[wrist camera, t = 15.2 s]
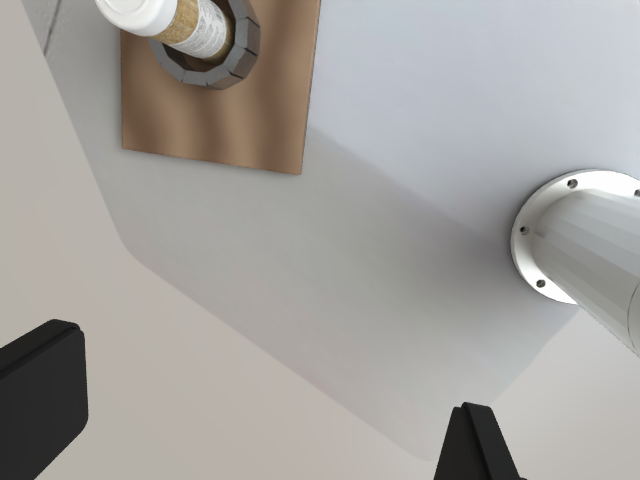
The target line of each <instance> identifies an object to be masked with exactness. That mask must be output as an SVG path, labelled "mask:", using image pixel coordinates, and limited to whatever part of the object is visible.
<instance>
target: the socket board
mask: <svg viewBox="0 0 640 480" xmlns="http://www.w3.org/2000/svg"><path fill="white" fill-rule="evenodd" d="M211 1H212V2H213V3H214V4H215V5H217V6H218V8H219V9H221V10H223V11H225V12H227V13H228V14H229V15H230V16H231V17H232V18H233V19H234V20H235V23H236V18H235V16H234V13H233V11H232V8H231V6H230V4H229V1H228V0H211ZM249 1H250V2H251V4H252V7H253V9H254V12H255V14H256V17H257V19H258V21H259V24H260V26H261V28H260V29H261V41H260V54H259V56H256V57H258V60H257V62H256V63H255V65H254V66H253V68H252V69H251V71H250V73H249V74H248V76H247V77H246V78H244V80H243V81H241V82H239V83H237V84H235V85H233V86H231V87H229V88H227V89H225V90H223V89H222V90H218V89H210V88H202V87H198V86H194V85H190V84H186V83H183V82H180V81H179V80H178V79H176V78H175V77H174V76H173V75H171V74H170V73H169V72H168V71H166V70H165V69H164V68H162V67H161V64H159V63H158V61H157V59H156V56H155V54H154V52H153V50H152V48H151V46H150V44H149V41H148V38H150V37H147V36H139V35H135V34H133V33H130V32H128V31H125V30H123V29H121V84H122V146H123V149H128V150H134V151H141V152H148V153H154V154H161V155H168V156H174V157H181V158H188V159H194V160H201V161H208V162H215V163H221V164H228V165H235V166H241V167H248V168H255V169H261V170H268V171H275V172H281V173H288V174H295V175H299V174H301V170H302V162H303V153H304V144H305V136H306V127H307V118H308V109H309V101H310V92H311V83H312V75H313V66H314V57H315V49H316V40H317V31H318V22H319V14H320V5H321V0H249ZM183 55H184V57H185V59H186V61H187V64H189V65H190V66H191V67H192V68H194V69H195V70H196V71H197V72H203V73H206V72H208V71H210V70H211V69H213V68H215V67H217V66H219V65H221V64H219V65H215V64H210V63H208V62H206V61H204V60H202V59H201V58H197V57H194V56H191V55H189V54H186V53H184V52H183Z"/></svg>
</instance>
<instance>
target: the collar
mask: <svg viewBox="0 0 640 480" xmlns="http://www.w3.org/2000/svg"><path fill="white" fill-rule="evenodd" d="M228 1H229V4H230V6H231V8H232V11H233V13H234V16H235V18H236V33H235V45H234V46H233V48H232V50H231V51H230V53H229V55H228V56H227V58H226V60H225V61H224V63H223V64H221V65H219V66H217V67H215V68H213V69H211V70H210V71H208V72H206V73H203V72H197V71H196V70H195V69H194V68H192V67H191V66H190V65H189V64H187V61H186V59H185V57H184V55H183V52H181V51H179V50H176V49H174V48H173V47H171V46H168V45H167V44H164V43H162V42H160V41H157V40H155V39H153V38H148V41H149V44H150V46H151V48H152V50H153V52H154V54H155V56H156V59H157V61H158V63H159V64H161V67H162V68H164V69H165V70H166V71H168V72H169V73H170V74H171V75H173V76H174V77H175V78H176V79H178V80H179V81H180V82H183V83H186V84H190V85H194V86H198V87H202V88H210V89H218V90H222V89H223V90H225V89H227V88H229V87H231V86H233V85H235V84H237V83H239V82H241V81H243V80H244V78H246V77H247V76H248V74H249V73H250V71H251V69H252V68H253V66H254V65H255V63H256V62H257V60H258V57H256V56H259V54H260V41H261V29H260V28H261V26H260V24H259V21H258V19H257V17H256V14H255V12H254V9H253V7H252V4H251V2H250V1H249V0H228ZM147 37H148V36H147Z"/></svg>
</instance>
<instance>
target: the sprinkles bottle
mask: <svg viewBox="0 0 640 480" xmlns="http://www.w3.org/2000/svg"><path fill="white" fill-rule="evenodd" d="M95 3H96V5H97V7H98V9H99V10H100V12H101V13H102V14H103V16H104V17H105V18H106V19H107V20H108V21H109V22H111V23H112V24H113V25H115V26H117V27H119V28H121V29H123V30H125V31H128V32H130V33H133V34H135V35H139V36H148V37H150V38H153V39H155V40H157V41H160V42H162V43H164V44H167V45H168V46H171V47H173V48H174V49H176V50H179V51H181V52H184V53H186V54H189V55H191V56H194V57H197V58H201V59H202V60H204V61H206V62H208V63H210V64H215V65H219V64H223V63H224V61H225V60H226V58H227V56H228V55H229V53H230V51H231V50H232V48H233V46H234V45H235V33H236V23H235V20H234V19H233V18H232V17H231V16H230V15H229V14H228V13H227V12H225V11H223V10H221V9H219V8H218V6H217V5H215V4H214V3H213V2H212V1H211V0H95Z"/></svg>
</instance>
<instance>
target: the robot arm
mask: <svg viewBox="0 0 640 480" xmlns="http://www.w3.org/2000/svg"><path fill="white" fill-rule="evenodd" d="M569 180H570V184H569V185H567V182H568V181H569ZM635 190H636V192H635ZM634 192H635V193H634ZM523 226H524V229H523V230H522V231H520V229H521V227H523ZM510 244H511V255H512V258H513V261H514V264H515V266H516V268H517V270H518V272H519V273H520V275H521V276H522V277H523V278H524V280H525V281H526V282H527V283H528V284H529V285H530V286H531V287H532V288H533V289H535V290H536V291H537V292H539V293H541V294H542V295H544V296H546V297H548V298H551V299H553V300H556V301H559V302H564V303H570V304H578V305H579V306H580V307H582V308H583V309H584V310H585V311H586V312H587V313H589V314H590V315H591V316H592V317H593V318H594V319H595V320H596V321H598V322H599V323H600V324H601V325H602V326H603V327H604V328H606V329H607V330H608V331H609V332H610V333H611V334H613V335H614V336H615V337H616V338H617V339H618V340H620V341H621V342H622V343H623V344H624V345H625V346H626V347H627V348H629V349H630V350H631V351H632V352H633V353H634V354H636V355H637V356H638V357H639V358H640V181H639V180H638V179H635V178H633V177H631V176H629V175H627V174H624V173H619V172H615V171H610V170H602V169H589V170H580V171H575V172H571V173H568V174H565V175H563V176H560V177H557V178H555V179H553V180H552V181H550V182H548V183H547V184H545V185H543V186H542V187H541V188H540V189H538V190H537V191H536V192H535V193H534V194H533V195H531V197H530V198H529V199H528V200H527V201H526V203H525V204H524V205H523V206H522V208H521V210H520V212H519V213H518V215H517V217H516V219H515V222H514V225H513V228H512V233H511V241H510ZM539 279H540V281H539V282H537V281H538V280H539ZM86 378H87V377H86V360H85V338H84V333H83V332H82V331H81V330H80V327H79V326H78V324H76V323H71V322H67V321H62V320H57V319H52V320H50V321H47V322H46V323H44V324H42V325H40V326H39V327H37V328H35V329H33V330H32V331H30V332H28V333H26V334H25V335H23V336H21V337H19V338H18V339H16V340H14V341H12V342H11V343H9V344H7V345H5V346H4V347H2V348H0V480H34V479H35V478H36V477H37V476H38V475H39V474H40V473H41V472H42V471H43V470H44V469H45V468H46V467H47V466H48V465H49V464H50V463H51V462H52V461H53V460H54V459H55V458H56V457H57V456H58V455H59V454H60V453H61V452H62V451H63V450H64V449H65V448H66V447H67V446H68V445H69V444H70V443H71V442H72V441H73V440H74V439H75V438H76V437H77V436H78V435H79V434H80V433H81V431H82V430H83V429H84V427H85V425H86V423H87V420H88V397H87V379H86ZM434 480H527V479H525V478H521V477H519V474H518V472H517V469H516V467H515V465H514V462H513V460H512V457H511V455H510V452H509V450H508V447H507V445H506V443H505V440H504V438H503V435H502V433H501V430H500V428H499V425H498V423H497V421H496V418H495V416H494V413H493V411H492V410H491V408H490V407H488V406H483V405H478V404H473V403H468V402H464V403H463V404H462V406H461V408H460V407H454V408H453V411H452V414H451V418H450V421H449V425H448V428H447V432H446V436H445V439H444V443H443V447H442V450H441V454H440V458H439V461H438V465H437V469H436V472H435V476H434Z"/></svg>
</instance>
